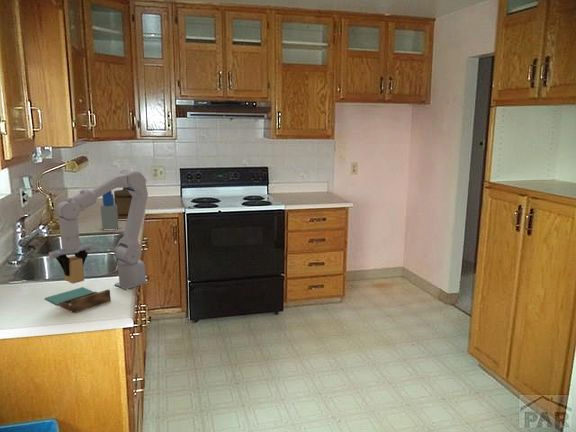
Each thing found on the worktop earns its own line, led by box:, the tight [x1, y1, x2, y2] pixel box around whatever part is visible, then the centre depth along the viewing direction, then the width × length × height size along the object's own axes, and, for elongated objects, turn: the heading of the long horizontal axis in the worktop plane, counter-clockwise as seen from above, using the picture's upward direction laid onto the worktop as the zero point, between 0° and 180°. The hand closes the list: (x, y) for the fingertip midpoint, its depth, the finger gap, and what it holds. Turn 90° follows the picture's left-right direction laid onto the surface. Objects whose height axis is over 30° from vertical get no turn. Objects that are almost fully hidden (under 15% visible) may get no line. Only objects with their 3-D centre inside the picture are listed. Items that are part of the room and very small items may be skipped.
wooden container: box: [113, 187, 132, 219], centre depth 295 cm, size 15×15×22 cm
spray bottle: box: [100, 190, 119, 230], centre depth 264 cm, size 9×9×25 cm
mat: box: [44, 286, 94, 306], centre depth 163 cm, size 14×10×1 cm
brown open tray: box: [58, 289, 111, 314], centre depth 156 cm, size 13×10×4 cm
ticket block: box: [63, 255, 85, 284], centre depth 158 cm, size 4×6×8 cm, turn 52°
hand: (73, 273), depth 159 cm, fingers closed on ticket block, 4 cm apart
